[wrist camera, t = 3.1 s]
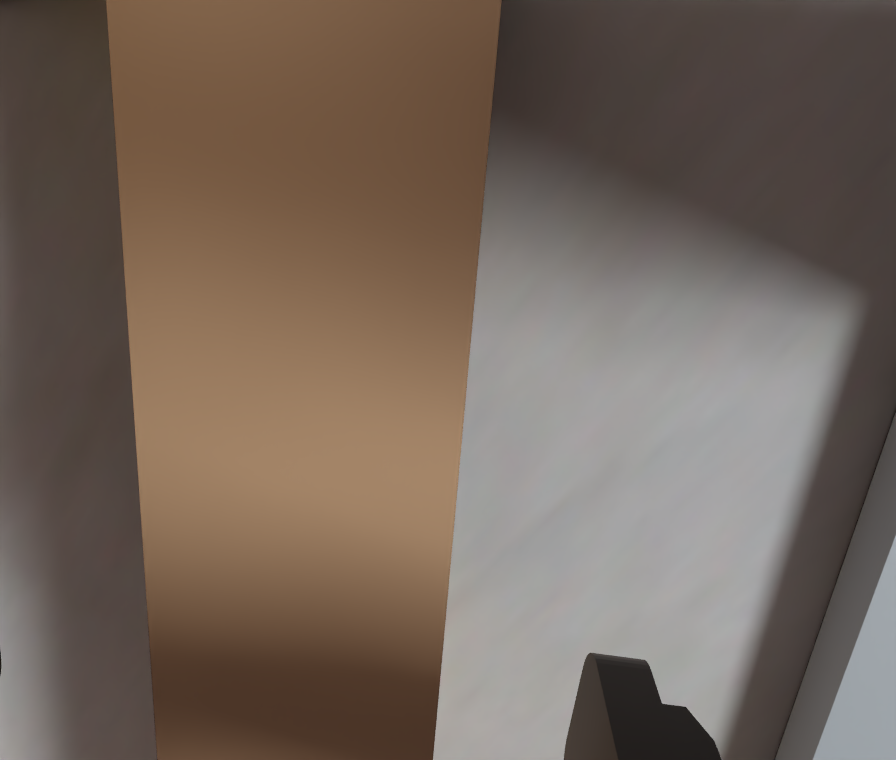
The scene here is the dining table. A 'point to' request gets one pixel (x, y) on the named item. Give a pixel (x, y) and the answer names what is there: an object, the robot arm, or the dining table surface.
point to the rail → (299, 357)
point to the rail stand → (855, 643)
